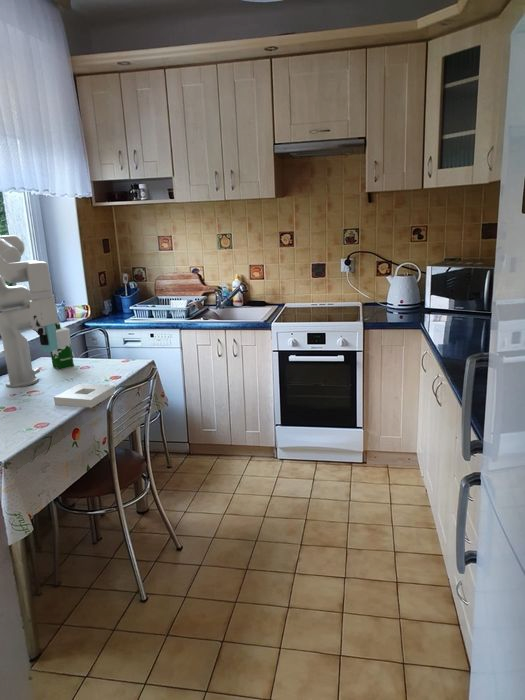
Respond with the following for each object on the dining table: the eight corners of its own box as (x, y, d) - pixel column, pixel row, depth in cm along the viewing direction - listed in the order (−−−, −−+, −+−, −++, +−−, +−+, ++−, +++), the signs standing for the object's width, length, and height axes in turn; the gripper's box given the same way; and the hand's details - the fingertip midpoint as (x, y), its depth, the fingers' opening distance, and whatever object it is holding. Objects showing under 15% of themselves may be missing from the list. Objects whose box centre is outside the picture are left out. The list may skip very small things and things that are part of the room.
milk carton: (67, 362, 254) (62, 322, 249) (76, 366, 248) (71, 324, 243) (50, 367, 248) (43, 325, 243) (59, 370, 242) (52, 327, 237)
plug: (49, 348, 204) (45, 323, 202) (58, 348, 203) (54, 323, 200) (42, 351, 200) (38, 325, 198) (51, 351, 199) (46, 325, 197)
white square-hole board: (89, 385, 218) (88, 378, 217) (123, 388, 213) (123, 381, 213) (54, 404, 198) (53, 397, 197) (91, 407, 193) (90, 399, 192)
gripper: (48, 292, 205) (55, 338, 210) (16, 299, 190) (25, 348, 194) (64, 292, 203) (71, 338, 207) (34, 299, 188) (42, 349, 192)
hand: (48, 342), depth 201 cm, fingers closed on plug, 4 cm apart
